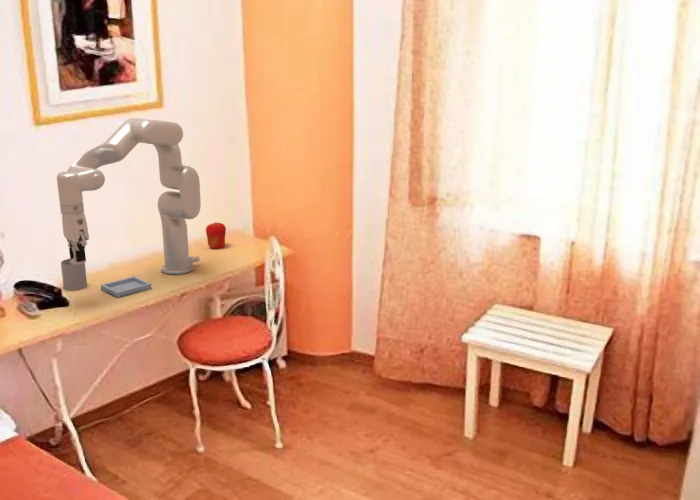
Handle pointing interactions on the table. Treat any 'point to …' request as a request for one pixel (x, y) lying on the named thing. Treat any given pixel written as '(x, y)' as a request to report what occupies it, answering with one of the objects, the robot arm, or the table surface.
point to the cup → (73, 275)
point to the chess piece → (73, 261)
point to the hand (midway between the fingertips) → (78, 258)
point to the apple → (216, 235)
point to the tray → (126, 287)
